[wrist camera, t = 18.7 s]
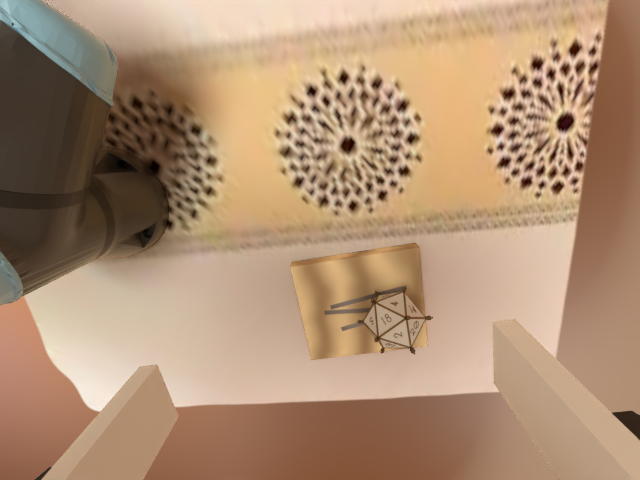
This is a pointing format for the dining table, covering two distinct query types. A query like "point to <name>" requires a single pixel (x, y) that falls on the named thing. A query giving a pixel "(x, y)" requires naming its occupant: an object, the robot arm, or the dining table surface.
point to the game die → (394, 320)
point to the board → (353, 296)
